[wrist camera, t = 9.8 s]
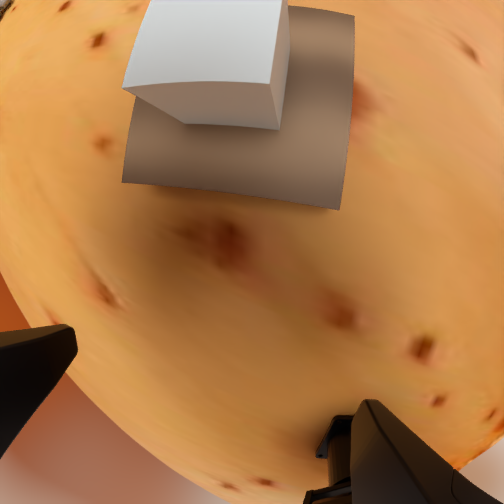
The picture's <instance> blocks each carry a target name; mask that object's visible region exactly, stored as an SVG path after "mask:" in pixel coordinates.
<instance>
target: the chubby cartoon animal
mask: <svg viewBox="0 0 504 504" xmlns="http://www.w3.org/2000/svg"><path fill="white" fill-rule="evenodd" d="M10 2H11V0H0V16H1V14H2V13H1V11H2V10H3V9H5V8H6V7H7V6H8V5H9V3H10Z"/></svg>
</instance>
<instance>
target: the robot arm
mask: <svg viewBox="0 0 504 504" xmlns="http://www.w3.org/2000/svg"><path fill="white" fill-rule="evenodd" d="M77 352H78V346H77V341H76V335H75V331H74V329H73V328H72V327H70V326H68V325H66V324H59V325H52V326H45V327H38V328H30V329H23V330H15V331H7V332H0V459H1V457H2V456H3V454H4V453H5V452H6V450H7V448H8V447H9V446H10V445H11V443H12V442H13V440H14V439H15V438H16V436H17V435H18V434H19V432H20V431H21V429H22V428H23V427H24V425H25V424H26V423H27V421H28V420H29V419H30V418H31V416H32V415H33V413H34V412H35V411H36V409H38V407H39V406H40V404H41V403H42V402H43V401H44V400H45V398H46V397H47V396H48V395H49V394H50V392H51V391H52V390H53V389H54V387H55V386H56V385H57V383H58V382H59V380H60V379H61V377H62V376H63V374H64V373H65V371H66V370H67V368H68V367H69V365H70V364H71V362H72V361H73V359H74V358H75V357H76V355H77ZM316 458H325V459H328V478H329V487H326V488H322V489H318V490H309V491H307V492H306V495H305V498H304V501H303V504H503V503H501V502H500V501H498V500H497V499H495V498H493V497H492V496H490V495H488V494H487V493H486V492H484V491H483V490H481V489H480V488H478V487H477V486H475V485H474V484H473V483H472V482H470V481H469V480H468V479H466V478H465V477H464V476H463V475H462V474H460V473H459V472H458V471H457V470H456V469H453V467H452V466H451V465H450V464H449V463H448V462H446V461H445V460H444V459H443V458H442V457H441V456H440V455H438V454H437V453H436V452H435V451H434V450H433V449H432V448H430V447H429V446H428V445H427V444H426V443H425V442H424V441H423V440H421V439H420V438H419V437H418V436H417V435H416V434H415V433H414V432H412V431H411V430H410V429H409V428H408V427H407V426H406V425H405V424H404V423H403V422H401V421H400V420H399V419H398V418H397V417H396V416H395V415H394V414H393V413H392V412H390V411H389V410H388V409H387V408H386V407H385V406H384V405H383V404H382V403H381V402H380V401H378V400H375V399H365V400H363V401H362V403H361V404H360V406H359V408H358V410H357V412H356V414H355V416H354V417H351V416H337V417H335V418H334V419H333V420H332V422H331V424H330V426H329V428H328V430H327V432H326V434H325V436H324V438H323V440H322V442H321V444H320V446H319V448H318V449H317V451H316Z"/></svg>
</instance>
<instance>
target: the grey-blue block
mask: <svg viewBox="0 0 504 504" xmlns="http://www.w3.org/2000/svg"><path fill="white" fill-rule="evenodd" d="M289 54H290V34H289V16H288V1H287V0H151V2H150V4H149V7H148V9H147V11H146V14H145V16H144V19H143V21H142V24H141V27H140V29H139V32H138V35H137V38H136V41H135V44H134V47H133V50H132V53H131V56H130V59H129V63H128V66H127V70H126V73H125V77H124V81H123V85H122V88H123V89H124V90H126V91H128V92H130V93H132V94H134V95H136V96H137V97H139V98H141V99H143V100H145V101H147V102H148V103H150V104H152V105H154V106H155V107H157V108H159V109H161V110H162V111H164V112H166V113H167V114H169V115H171V116H173V117H174V118H176V119H178V120H179V121H181V122H183V123H184V124H212V125H230V126H243V127H254V128H264V129H273V130H280V123H281V116H282V108H283V101H284V93H285V85H286V78H287V70H288V62H289Z"/></svg>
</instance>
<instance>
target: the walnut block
mask: <svg viewBox="0 0 504 504" xmlns="http://www.w3.org/2000/svg"><path fill="white" fill-rule="evenodd" d="M288 16H289V34H290V54H289V62H288V70H287V78H286V85H285V93H284V101H283V108H282V116H281V123H280V130H273V129H264V128H254V127H243V126H230V125H212V124H184V123H183V122H181V121H179V120H178V119H176V118H174V117H173V116H171V115H169V114H167V113H166V112H164V111H162V110H161V109H159V108H157V107H155V106H154V105H152V104H150V103H148V102H147V101H145V100H143V99H141V98H139V97H137V96H136V99H135V103H134V108H133V113H132V118H131V123H130V128H129V134H128V140H127V146H126V153H125V160H124V168H123V176H122V183H135V184H148V185H160V186H171V187H181V188H191V189H200V190H209V191H217V192H225V193H233V194H241V195H248V196H255V197H262V198H269V199H276V200H282V201H288V202H294V203H300V204H306V205H312V206H318V207H323V208H329V209H334V210H339V209H340V203H341V196H342V190H343V183H344V176H345V168H346V160H347V152H348V143H349V133H350V122H351V111H352V97H353V79H354V48H355V22H354V16H353V15H348V14H343V13H338V12H333V11H327V10H321V9H315V8H307V7H299V6H288Z"/></svg>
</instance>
